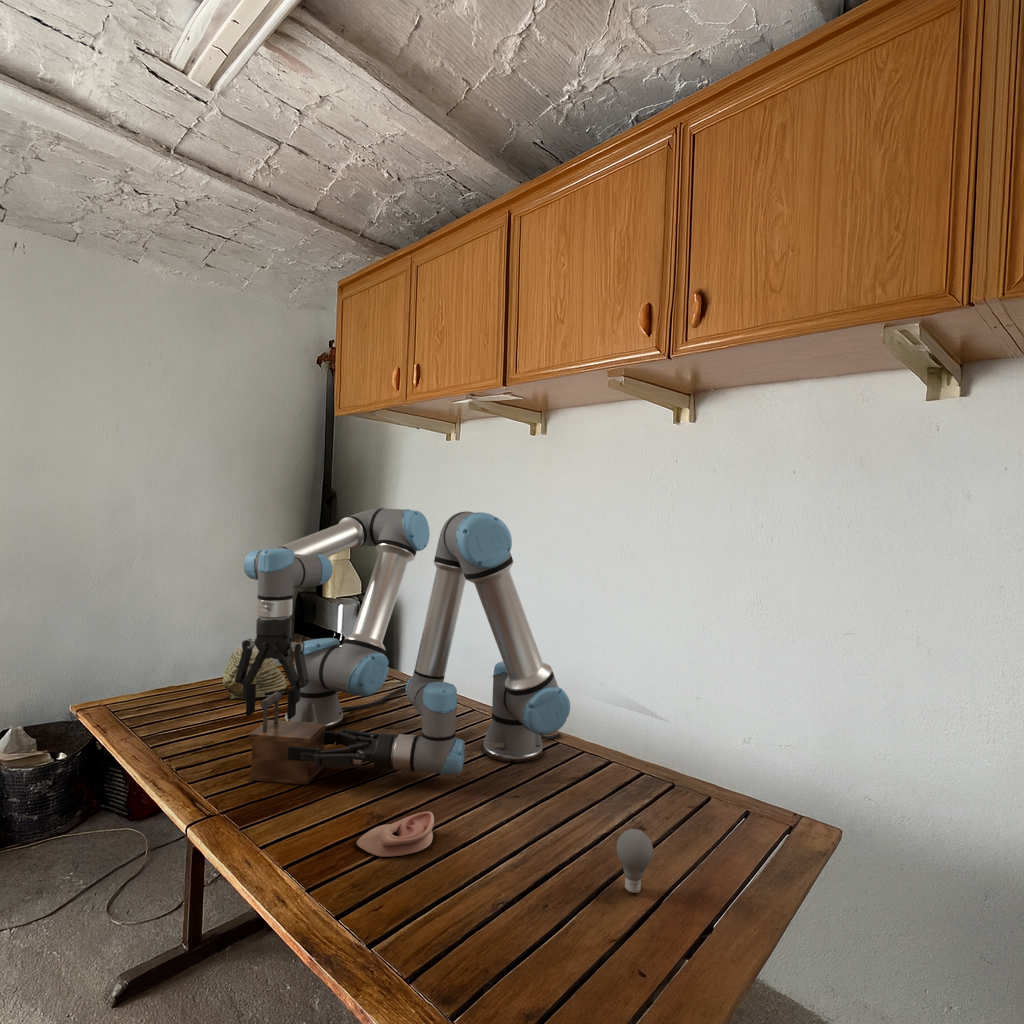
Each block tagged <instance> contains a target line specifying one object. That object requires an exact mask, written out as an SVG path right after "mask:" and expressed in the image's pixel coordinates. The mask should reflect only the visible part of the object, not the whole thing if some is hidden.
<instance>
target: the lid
mask: <svg viewBox="0 0 1024 1024" xmlns="http://www.w3.org/2000/svg"><path fill="white" fill-rule="evenodd" d="M282 697H283V693H280V692H275V693H274V694H272V695H271V696H267V697H266V698H265V699H263V700H262V701H261V702H260V708H262V709H263V711H262V712H263V716H262V724H261V725H259V726H258V727H257V728H256V729H254V730H253V731H251V732H250V733H249V737H248V740H253V739H254V740H267V741H280V742H293V743H306V744H309V743H310V742H311V741H312V740H313V739H314V738H316V737H317V736H318V735H319V734H320V733H321V732H322V731H323V730H324V729H325V724H320V723H306V722H293V721H286V720H279V708H280V707H279V705H280V704H279V703H280V700H281V699H282ZM272 706H274V708H273V709H274V711H273V719H268V716H269V715H268V714H269V713H268V712H269V708H270V707H272Z"/></svg>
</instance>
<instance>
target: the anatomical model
mask: <svg viewBox="0 0 1024 1024" xmlns="http://www.w3.org/2000/svg"><path fill="white" fill-rule="evenodd" d="M434 826H435V815H434V814H433V812H431V811H422V812H418V813H415V814H411V815H409V816H406V817H404V818H402V819H399V820H397V821H395V822H392V823H389V824H388V823H387V824H382V825H378V826H376V827H374V828H372V829H370V830H368V831H367V832H365V833H364V834H363V835H361V836H360V837H359V838H358V839H357V841H356V845H357V847H359V848H360V849H362V850H363V851H365V852H366V853H369V854H371V855H373V856H375V857H376V856H377V857H380V858H385V857H386V858H387V857H397V856H405V855H410V854H414V853H418V852H420V851H423V850H425V849H427V848H428V847H430V845H431V844H432V842H433V838H434V834H433V829H434Z"/></svg>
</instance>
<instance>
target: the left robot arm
mask: <svg viewBox="0 0 1024 1024" xmlns="http://www.w3.org/2000/svg"><path fill="white" fill-rule="evenodd" d="M430 532H431V531H430V526H429V522H428V519H427V517H426V516H425V514H424V513H422V512H421V511H419V510H414V509H410V508H406V509H401V508H399V509H398V508H384V507H377V508H376V507H375V508H370V509H366V510H362V511H360V512H357V513H354V514H351V515H349V516H347V517H343V518H342V519H340V520H339V522H338V524H337V523H336V524H335V525H332V526H329V527H327V528H325V529H322V530H319V531H316V532H314V533H311V534H309V535H306V536H303V537H301V538H298V539H295V540H293V541H290V542H288V543H285V544H283V545H280V546H277V547H273V548H265V549H259V550H253V551H250V552H249V553H248V554H247V555H246V556H245V559H244V561H243V572H244V573H245V575H246V577H248V578H249V579H250V580H255V581H257V601H256V603H257V604H256V605H257V606H256V616H257V619H256V626H255V627H256V629H255V633H256V637H255V638H254V639H252V638H246V639H245V640H243V641H241V647H242V650H243V651H242V655H241V659H240V663H239V666H238V670H237V674H236V678H235V682H236V683H240V684H242V685H243V698H242V700H243V701H246V702H245V716H246V717H250V716H251V715H252V714H254V713H256V697H255V694H256V684H252V683H253V682H254V681H253V680H254V678H255V676H256V675H257V673H258V671H259V669H260V667H261V665H262V664H263V662H264V660H265V659H266V658H271V659H272V660H277V661H278V663H279V664H281V667H282V670H283V671H284V673H285V676H286V678H287V681H288V682H289V683H288V684H289V685H290V688H289V689H288V690H287V713H285V716H284V719H285V721H293V722H306V723H320V724H325V731H329V730H332V729H335V728H337V727H339V726H340V725H342V723H343V722H344V713H343V711H351V710H352V711H353V710H359V709H364V708H365V709H366V708H369V707H373V706H377V705H378V704H382V703H383V702H385V701H386V700H388V699H390V698H391V697H393V696H395V695H397V694H398V693H401V692H403V691H406V686H403V687H401V688H398V689H396V690H394V691H392V692H390V693H388V694H386V695H385V696H383V697H381V698H380V699H378V700H375V701H372V702H368V703H364V704H358V705H351V706H341V702H340V699H339V695H338V692H340V693H344V694H349V695H352V696H353V697H354V696H355V697H358V696H359V697H360V696H361V697H370V696H372V695H374V694H376V692H378V691H379V690H380V689H381V688H382V687H383V685H384V684H385V682H386V679H387V678H388V674H389V669H390V667H389V665H390V664H389V659H388V658H387V656H386V655H385V654H386V647H385V645H384V643H383V642H384V639H385V635H386V632H387V629H388V625H389V622H390V619H391V616H392V614H393V610H394V607H395V604H396V601H397V598H398V594H399V591H400V588H401V585H402V583H403V579H404V576H405V573H406V572H405V571H406V569H407V566H408V563H410V562H412V561H414V560H415V559H416V555H417V552H420V551H423V550H425V549H426V548H427V546H428V544H429V541H430ZM361 547H375V550H376V552H377V553H378V555H377V558H376V562H375V564H374V568H373V570H372V573H371V575H370V579H369V582H368V585H367V588H366V591H365V594H364V597H363V600H362V603H361V606H360V609H359V612H358V614H357V618H356V621H355V624H354V627H353V629H352V633H351V634H350V635H348V636H346V637H345V638H344V639H343V642H342V645H341V646H340V644H341V643H340V640H339V639H338V638H335V637H322V638H313V639H308V640H304V641H300V642H296V641H293V639H292V627H293V625H292V623H293V619H292V617H291V616H292V615H293V598H294V589H300V588H307V587H318V586H320V585H324V584H326V583H328V582H329V581H330V580H331V578H332V575H333V571H334V570H333V564H332V561H331V560H330V559H329V557H331V556H334V555H336V554H339V553H340V552H343V551H345V550H347V549H350V550H356V549H358V548H361ZM255 647H256V649H258V650H259V652H258V654H257V656H256V658H255V661H254V663H253V664H252V666H251V668H250V670H249V672H248V674H247V670H248V666H249V662H250V658H251V655H252V651H253V649H255ZM290 649H291V650H292V651H291V652H293V659H294V660H293V662H294V663H293V662H292V659H291V655H290V653H289V652H290V651H289V650H290ZM246 674H247V675H246Z"/></svg>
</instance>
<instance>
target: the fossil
mask: <svg viewBox="0 0 1024 1024" xmlns="http://www.w3.org/2000/svg"><path fill="white" fill-rule="evenodd" d="M242 651H243V650H242V646H238V647H237V648H236V649H235V650H233V651H232V653H231V656H230V657H229V659H228V660H227V663H226V666H225V668H224V671H223V675H222V676H223V677H222V685H223V687H224V688H225V690H226V691H228V693H229V698H230V699H243V685H242V684H240V683H236V682H235V678H236V674H237V670H238V666H239V663H240V659H241V655H242ZM258 652H259V650H258V649H257V648H253V651H252V655H251V658H250V662H249V666H248V670H247V674H248V672H249V670H250V668H251V666H252V664H253V663H254V661H255V658H256V656H257V654H258ZM247 674H246V675H247ZM253 681H254V682H253V683H252V684H256V694H255V698H264V697H269V696H271V695H272V694H274V693H275V692H280V693H281V694H284V693H285V691H286V689H287V687H288V686H287V680H286V678H285V676H284V674H283V673H282V672H281V669H279V668H278V667H277V665H276V663H275V662H274V659H273V658H266V659H265V660H264V662H263V664H262V665H261V667H260V669H259V671H258V673H257V675H256V676H255V678H254V680H253Z"/></svg>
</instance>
